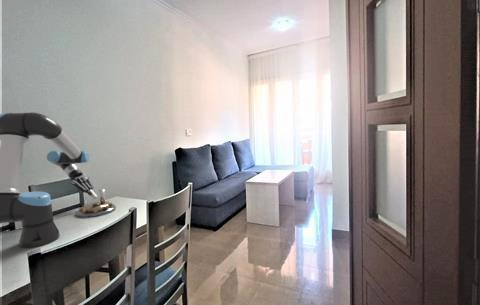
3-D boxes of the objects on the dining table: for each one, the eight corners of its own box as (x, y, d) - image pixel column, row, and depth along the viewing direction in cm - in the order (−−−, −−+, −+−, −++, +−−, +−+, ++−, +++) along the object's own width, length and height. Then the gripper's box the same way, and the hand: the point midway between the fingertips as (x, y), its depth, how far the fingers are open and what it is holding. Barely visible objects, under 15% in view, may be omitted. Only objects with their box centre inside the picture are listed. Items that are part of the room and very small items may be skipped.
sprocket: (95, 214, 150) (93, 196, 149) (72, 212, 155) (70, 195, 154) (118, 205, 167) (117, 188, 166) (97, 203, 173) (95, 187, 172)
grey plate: (95, 218, 148) (95, 216, 148) (67, 216, 154) (67, 213, 154) (123, 206, 169) (123, 204, 169) (97, 205, 175) (97, 202, 175)
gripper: (79, 174, 178) (100, 198, 175) (62, 178, 166) (84, 204, 163) (84, 167, 176) (106, 191, 173) (67, 170, 164) (90, 196, 161)
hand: (95, 197), depth 168 cm, fingers closed
